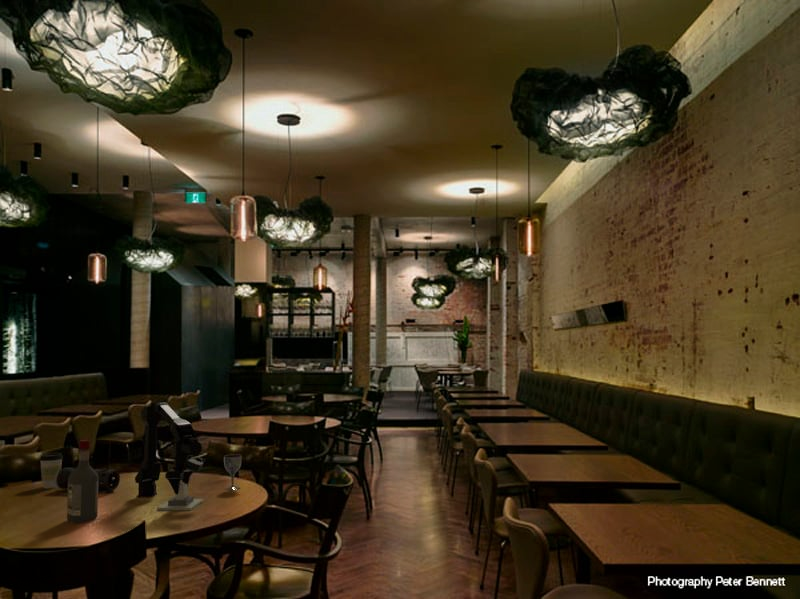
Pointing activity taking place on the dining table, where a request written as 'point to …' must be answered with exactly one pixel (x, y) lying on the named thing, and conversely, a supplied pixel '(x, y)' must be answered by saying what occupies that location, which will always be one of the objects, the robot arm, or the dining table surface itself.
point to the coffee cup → (50, 468)
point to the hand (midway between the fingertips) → (181, 491)
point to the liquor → (82, 489)
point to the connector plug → (182, 492)
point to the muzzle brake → (103, 480)
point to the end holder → (180, 504)
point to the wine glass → (232, 467)
